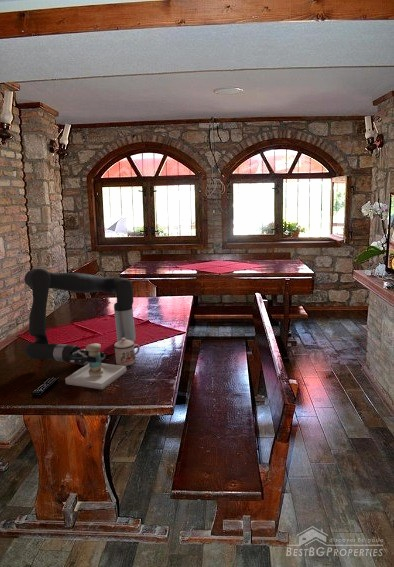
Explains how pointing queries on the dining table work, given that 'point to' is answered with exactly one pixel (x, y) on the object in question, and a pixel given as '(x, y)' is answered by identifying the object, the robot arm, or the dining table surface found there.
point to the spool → (94, 352)
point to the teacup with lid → (125, 352)
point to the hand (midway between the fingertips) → (99, 357)
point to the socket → (88, 362)
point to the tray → (99, 381)
